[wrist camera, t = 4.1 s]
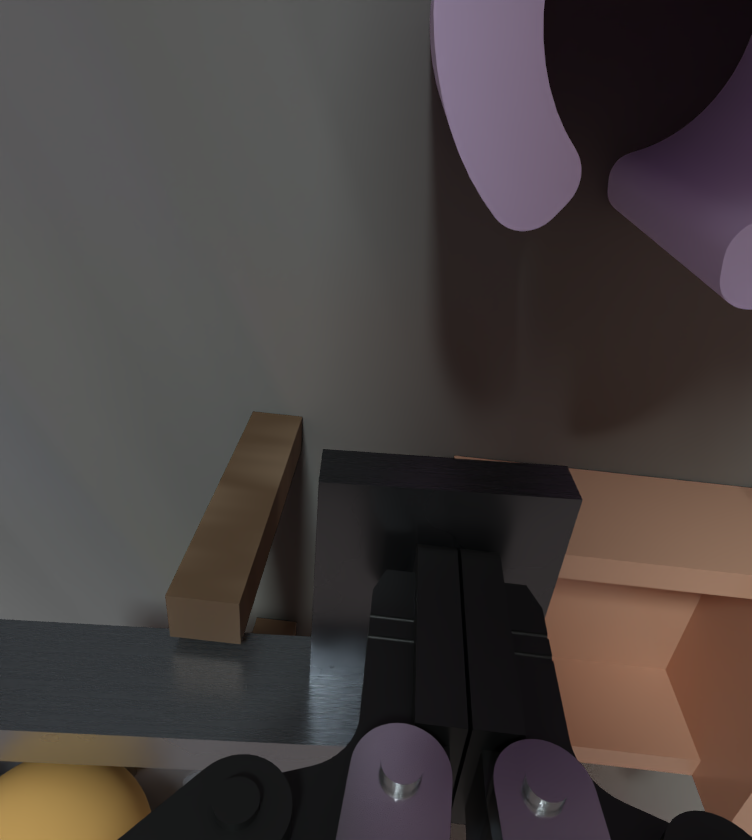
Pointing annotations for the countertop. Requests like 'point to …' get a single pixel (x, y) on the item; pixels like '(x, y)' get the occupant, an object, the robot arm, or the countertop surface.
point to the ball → (69, 802)
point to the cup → (659, 632)
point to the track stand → (237, 537)
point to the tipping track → (275, 654)
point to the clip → (559, 161)
